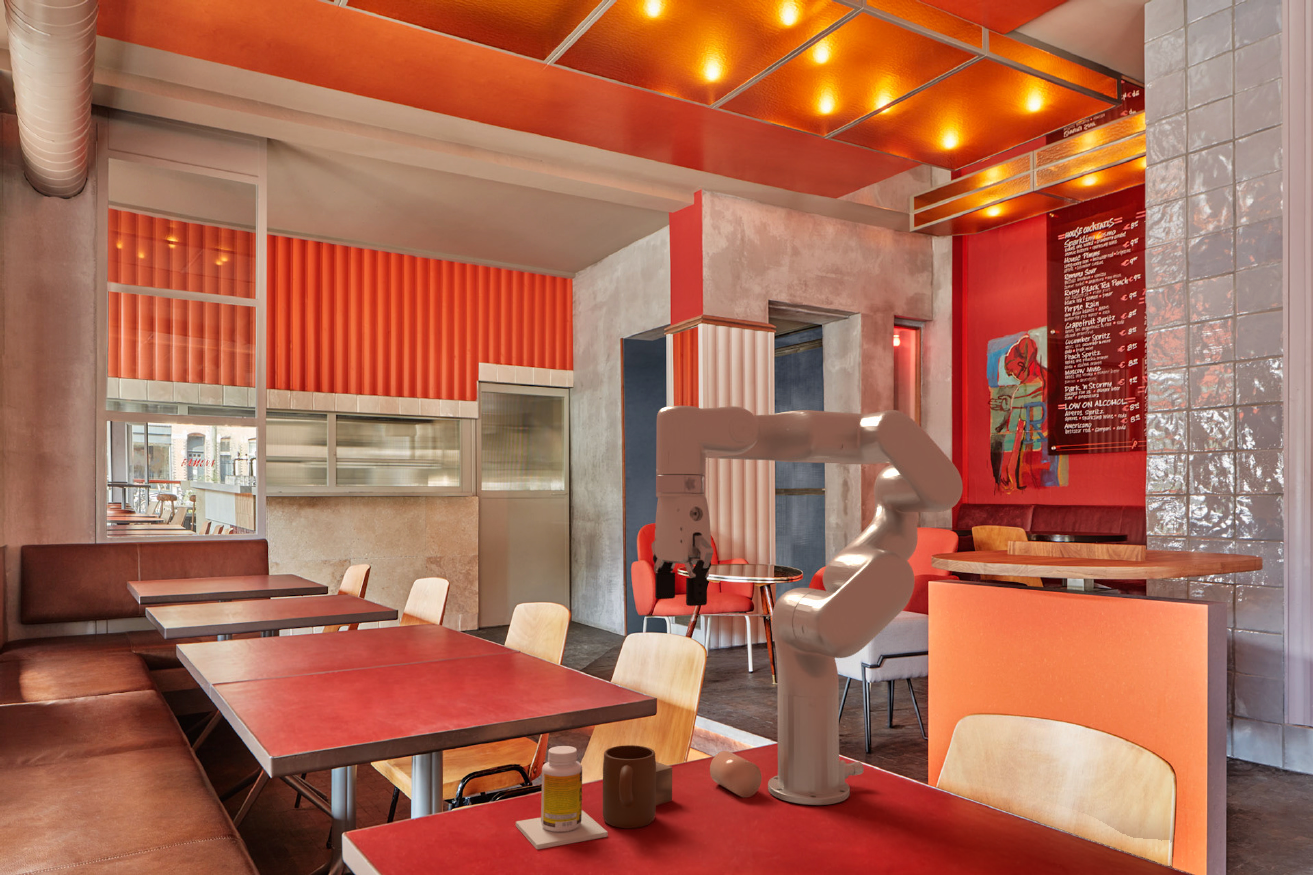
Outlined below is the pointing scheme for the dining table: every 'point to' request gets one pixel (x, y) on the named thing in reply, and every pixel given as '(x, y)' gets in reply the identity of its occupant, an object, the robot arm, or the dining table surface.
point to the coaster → (549, 838)
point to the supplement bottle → (561, 790)
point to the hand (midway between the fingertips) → (680, 601)
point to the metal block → (663, 783)
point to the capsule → (735, 774)
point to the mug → (629, 786)
